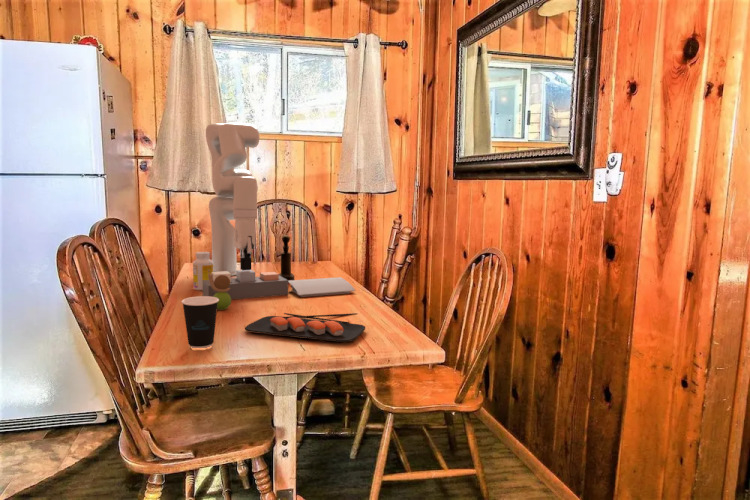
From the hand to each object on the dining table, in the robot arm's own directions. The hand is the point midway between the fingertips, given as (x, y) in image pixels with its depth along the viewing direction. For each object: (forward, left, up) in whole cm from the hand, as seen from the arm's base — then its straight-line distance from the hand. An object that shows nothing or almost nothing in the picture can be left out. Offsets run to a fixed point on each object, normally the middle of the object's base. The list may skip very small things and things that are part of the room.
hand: (245, 269), depth 167 cm
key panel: (0, 0, -9) cm, 9 cm away
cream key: (0, -8, -5) cm, 9 cm away
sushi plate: (+43, +8, -9) cm, 44 cm away
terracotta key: (0, +8, -6) cm, 10 cm away
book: (+4, +25, -9) cm, 27 cm away
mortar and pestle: (-18, +20, -9) cm, 28 cm away
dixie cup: (+50, -23, -9) cm, 56 cm away
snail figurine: (+17, -12, -9) cm, 22 cm away
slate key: (0, 0, -5) cm, 5 cm away
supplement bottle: (-15, -11, -9) cm, 21 cm away
